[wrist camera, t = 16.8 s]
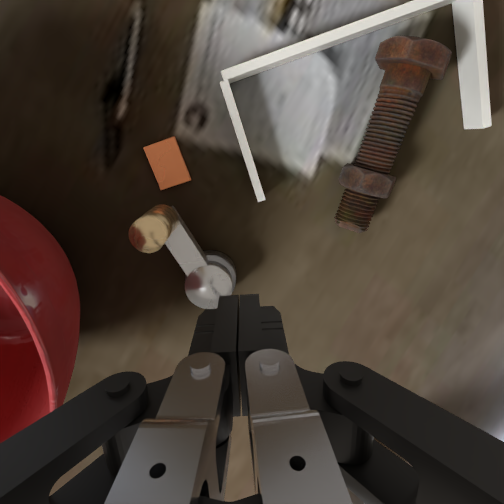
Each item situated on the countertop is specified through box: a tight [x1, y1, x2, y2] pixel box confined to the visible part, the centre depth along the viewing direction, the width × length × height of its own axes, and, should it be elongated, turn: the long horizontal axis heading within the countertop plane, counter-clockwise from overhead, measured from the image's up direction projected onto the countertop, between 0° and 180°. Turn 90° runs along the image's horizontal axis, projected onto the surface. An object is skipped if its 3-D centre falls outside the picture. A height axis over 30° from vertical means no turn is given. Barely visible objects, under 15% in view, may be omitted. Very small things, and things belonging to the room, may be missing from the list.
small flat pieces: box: [143, 136, 236, 292], centre depth 31 cm, size 16×5×2 cm, turn 18°
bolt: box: [334, 36, 452, 233], centre depth 28 cm, size 6×5×15 cm
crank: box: [128, 204, 233, 309], centre depth 28 cm, size 11×4×6 cm, turn 29°
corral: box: [219, 0, 491, 202], centre depth 28 cm, size 11×20×2 cm, turn 108°
